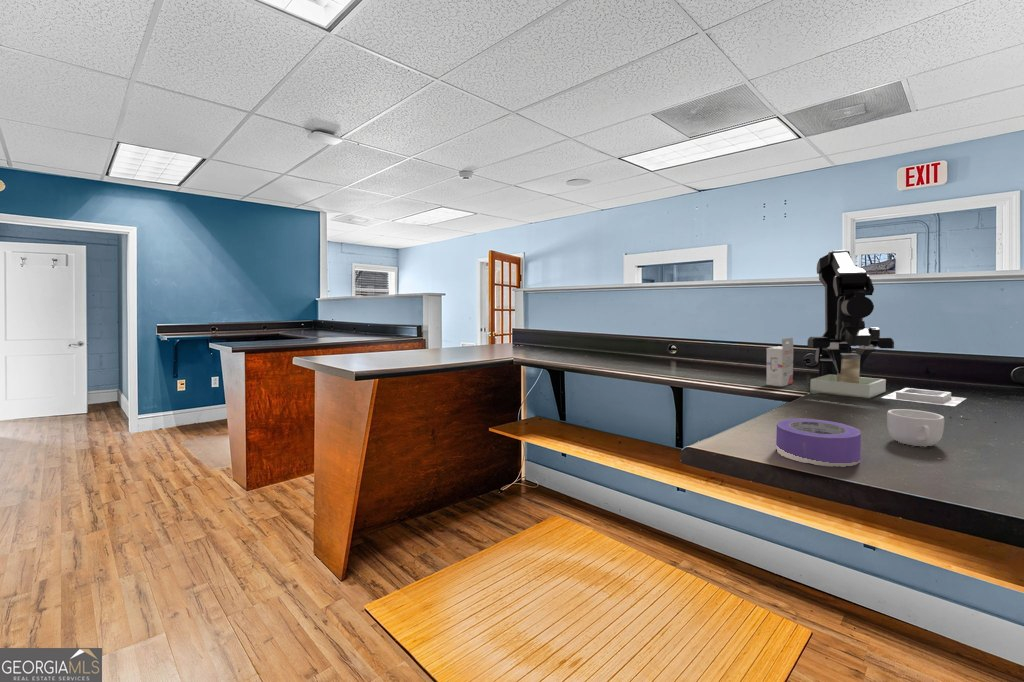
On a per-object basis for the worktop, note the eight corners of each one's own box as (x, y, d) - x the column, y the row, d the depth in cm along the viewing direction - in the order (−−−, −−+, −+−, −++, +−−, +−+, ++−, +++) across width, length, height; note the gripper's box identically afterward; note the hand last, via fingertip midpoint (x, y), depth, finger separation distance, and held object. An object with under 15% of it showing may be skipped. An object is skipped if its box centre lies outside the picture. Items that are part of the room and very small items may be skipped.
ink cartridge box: (776, 381, 150) (777, 336, 149) (793, 383, 147) (794, 337, 145) (765, 385, 145) (766, 338, 144) (782, 386, 141) (783, 338, 140)
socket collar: (880, 399, 120) (881, 391, 120) (896, 393, 128) (896, 385, 128) (954, 408, 109) (955, 399, 108) (966, 400, 117) (967, 392, 117)
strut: (841, 383, 127) (842, 354, 127) (836, 381, 131) (837, 353, 131) (859, 384, 126) (860, 354, 125) (853, 381, 130) (854, 353, 129)
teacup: (880, 435, 88) (881, 407, 88) (932, 440, 85) (933, 411, 85) (898, 451, 79) (899, 420, 79) (957, 456, 76) (958, 424, 75)
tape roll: (843, 474, 69) (844, 441, 69) (763, 454, 79) (763, 425, 78) (871, 457, 76) (872, 427, 76) (794, 442, 86) (795, 415, 85)
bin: (810, 393, 130) (810, 379, 130) (828, 387, 138) (828, 374, 138) (869, 400, 119) (869, 385, 119) (885, 393, 128) (885, 379, 127)
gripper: (820, 318, 123) (818, 377, 124) (905, 317, 117) (903, 379, 118) (807, 317, 133) (806, 371, 134) (885, 316, 127) (883, 372, 129)
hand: (848, 373), depth 129 cm, fingers closed on strut, 4 cm apart
